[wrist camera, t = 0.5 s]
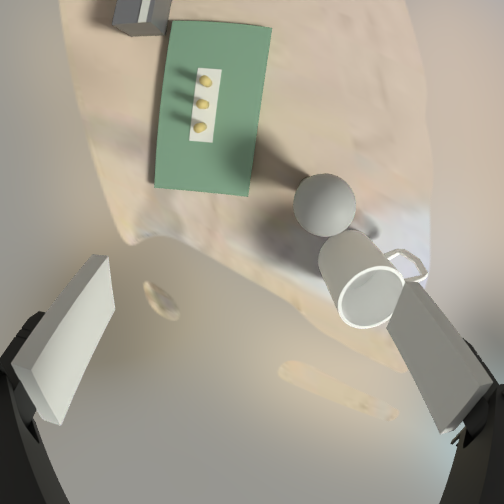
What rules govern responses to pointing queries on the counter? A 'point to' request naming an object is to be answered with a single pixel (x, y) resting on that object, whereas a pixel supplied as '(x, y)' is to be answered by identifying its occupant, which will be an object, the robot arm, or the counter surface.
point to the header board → (211, 106)
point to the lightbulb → (324, 205)
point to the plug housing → (142, 17)
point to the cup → (363, 278)
